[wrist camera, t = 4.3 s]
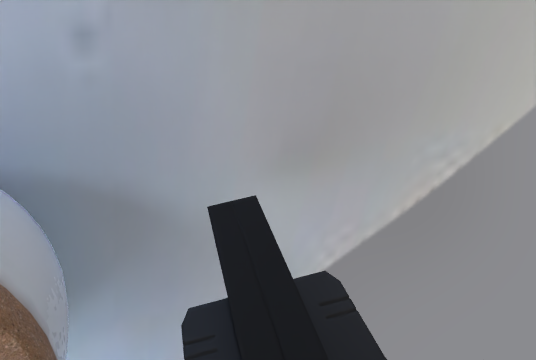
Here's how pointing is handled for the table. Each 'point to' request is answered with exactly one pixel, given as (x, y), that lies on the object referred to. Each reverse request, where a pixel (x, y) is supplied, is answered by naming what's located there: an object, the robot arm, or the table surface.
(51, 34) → the table surface
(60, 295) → the trinket box
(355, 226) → the table surface
